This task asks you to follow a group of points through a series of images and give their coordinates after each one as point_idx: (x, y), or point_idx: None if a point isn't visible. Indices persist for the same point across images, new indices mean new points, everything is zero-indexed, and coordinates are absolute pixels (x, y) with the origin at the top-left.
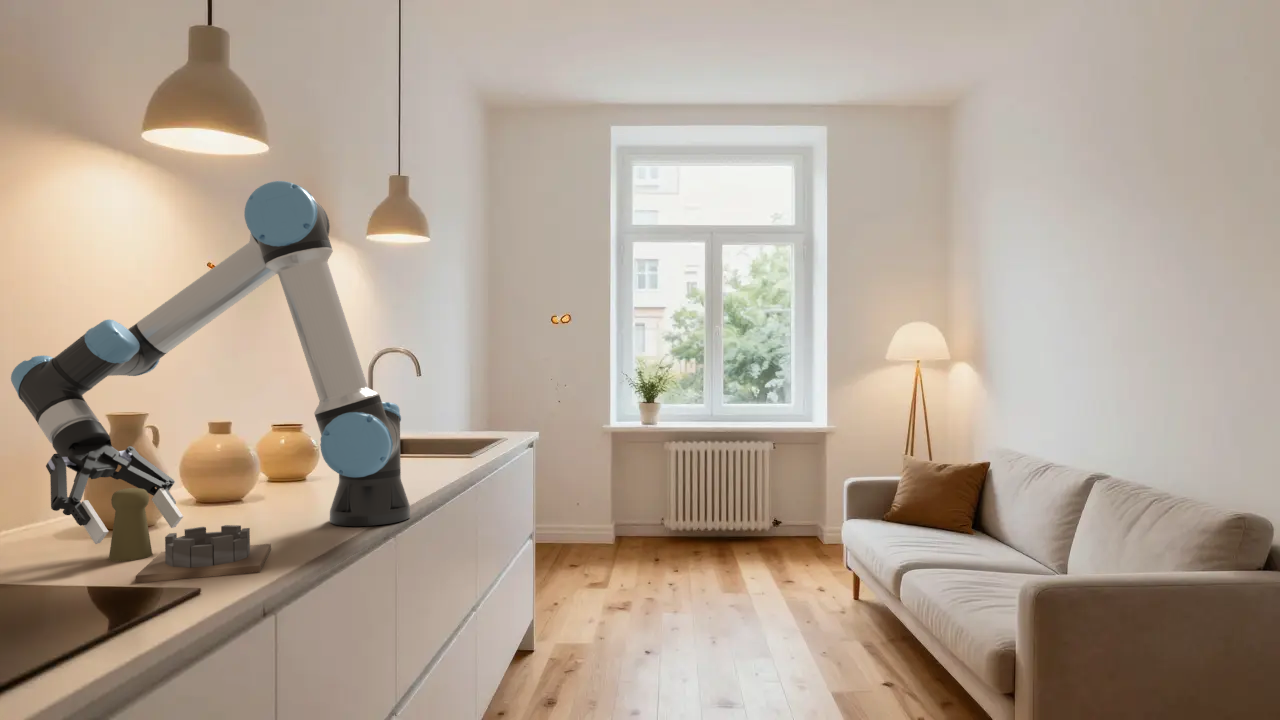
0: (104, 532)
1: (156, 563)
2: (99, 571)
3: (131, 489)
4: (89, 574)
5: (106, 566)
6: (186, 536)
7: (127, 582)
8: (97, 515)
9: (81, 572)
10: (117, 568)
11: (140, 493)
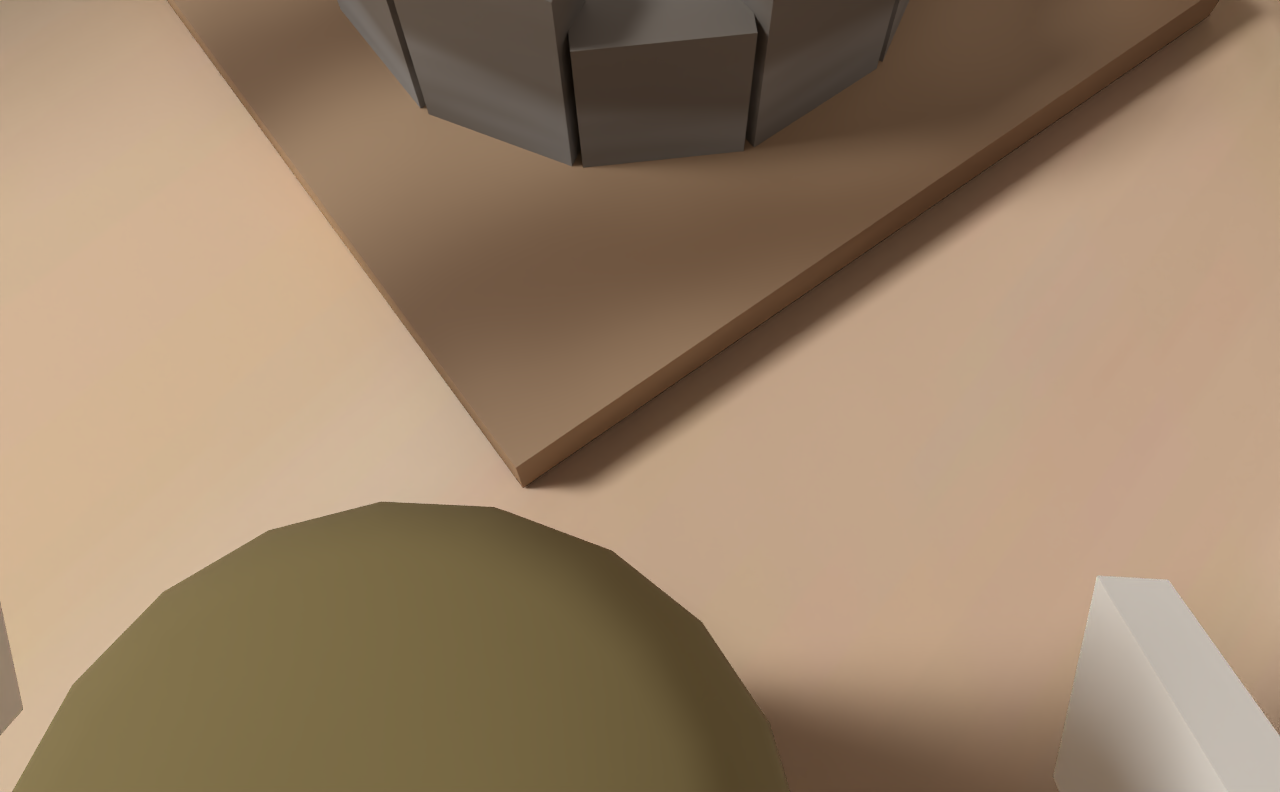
0: (1155, 583)
1: (898, 133)
2: None
3: (441, 746)
4: (1217, 591)
5: (944, 731)
6: (585, 7)
7: (1224, 79)
8: (1243, 787)
9: None
10: (960, 544)
11: (432, 508)
